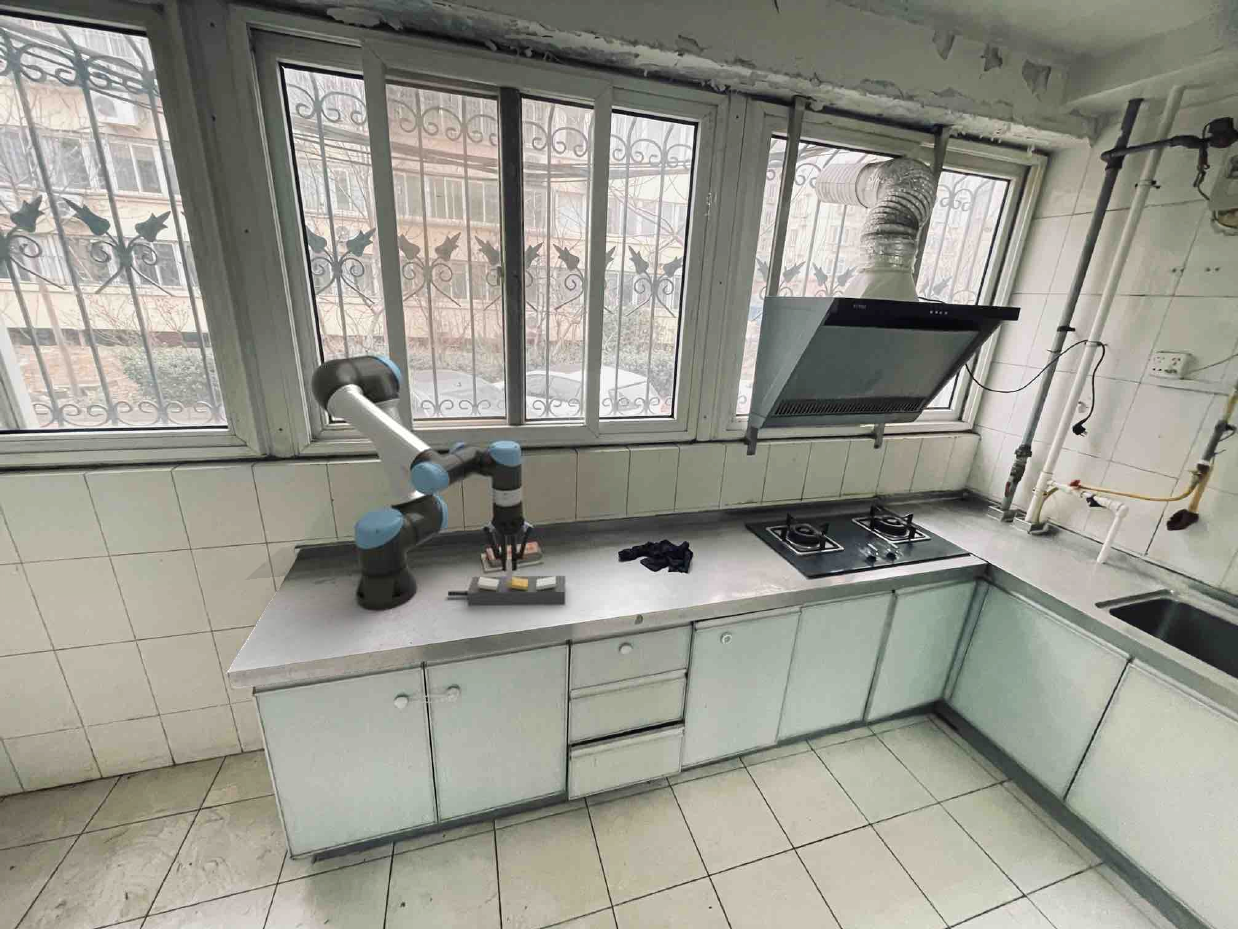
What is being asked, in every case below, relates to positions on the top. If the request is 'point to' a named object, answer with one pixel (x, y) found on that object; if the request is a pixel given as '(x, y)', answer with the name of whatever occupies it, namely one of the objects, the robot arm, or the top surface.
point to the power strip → (514, 593)
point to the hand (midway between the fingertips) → (510, 580)
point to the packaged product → (529, 558)
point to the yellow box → (519, 583)
